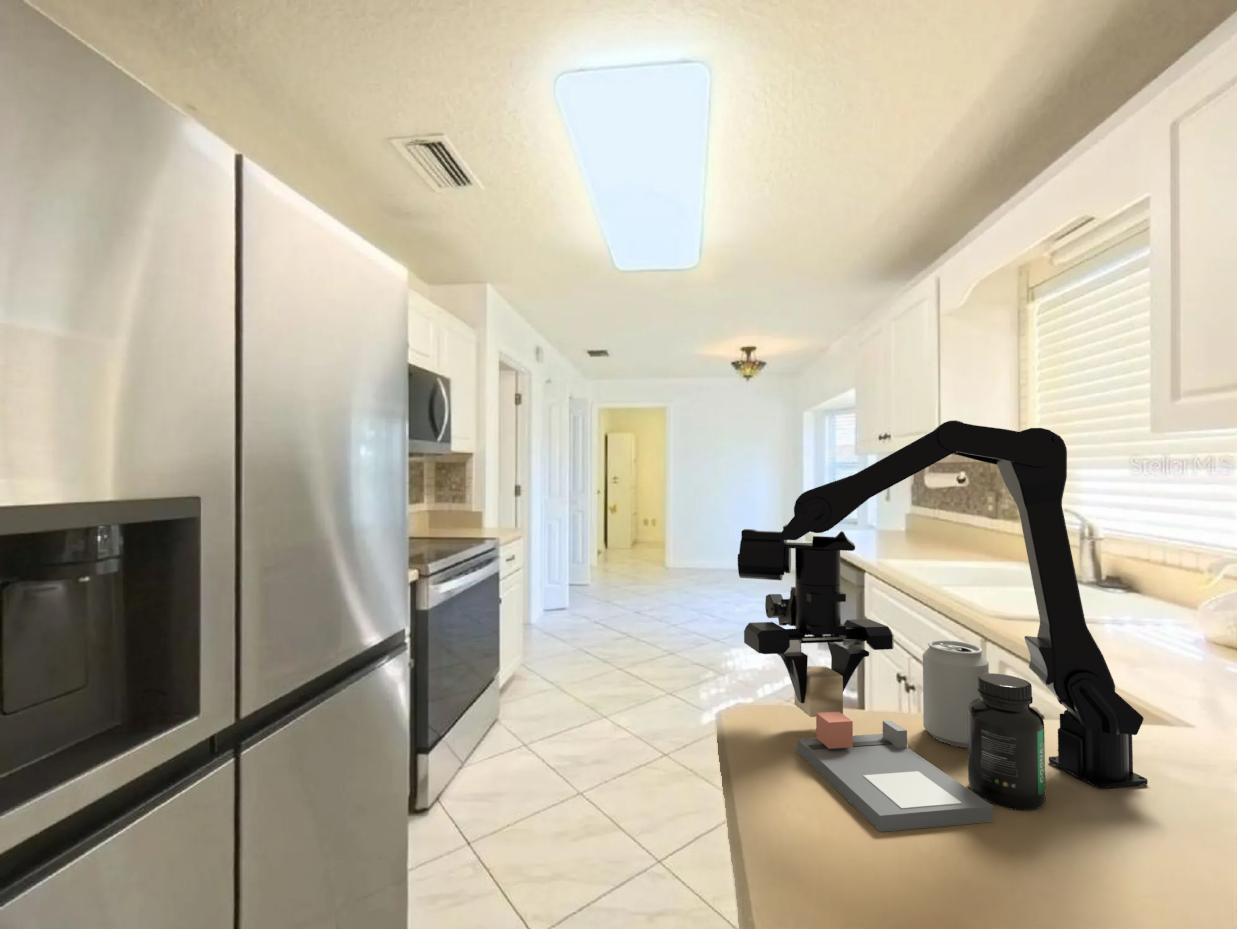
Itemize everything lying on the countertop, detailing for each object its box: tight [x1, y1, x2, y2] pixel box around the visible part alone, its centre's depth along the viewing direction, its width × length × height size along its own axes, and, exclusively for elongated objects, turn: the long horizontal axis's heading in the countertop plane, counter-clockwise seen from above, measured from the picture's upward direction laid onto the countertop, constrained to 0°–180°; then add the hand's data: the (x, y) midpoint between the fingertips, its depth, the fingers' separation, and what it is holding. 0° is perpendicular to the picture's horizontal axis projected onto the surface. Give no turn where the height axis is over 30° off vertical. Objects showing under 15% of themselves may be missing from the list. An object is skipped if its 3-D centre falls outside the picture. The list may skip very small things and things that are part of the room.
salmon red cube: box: [815, 712, 854, 749], centre depth 70 cm, size 3×3×3 cm
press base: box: [796, 720, 994, 833], centre depth 65 cm, size 12×17×4 cm
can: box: [922, 639, 990, 748], centre depth 77 cm, size 8×8×12 cm
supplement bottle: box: [967, 672, 1046, 811], centre depth 63 cm, size 7×7×12 cm
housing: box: [793, 665, 844, 718], centre depth 78 cm, size 4×4×5 cm
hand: (818, 701), depth 78 cm, fingers closed on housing, 4 cm apart
